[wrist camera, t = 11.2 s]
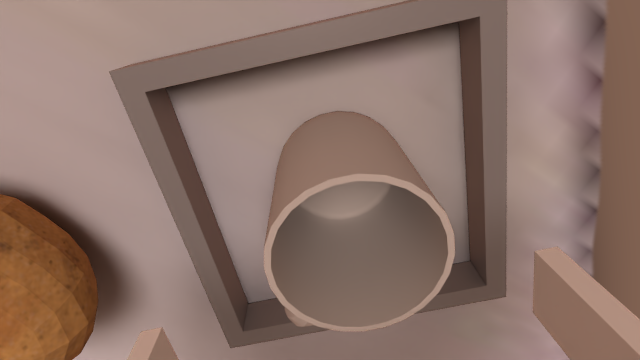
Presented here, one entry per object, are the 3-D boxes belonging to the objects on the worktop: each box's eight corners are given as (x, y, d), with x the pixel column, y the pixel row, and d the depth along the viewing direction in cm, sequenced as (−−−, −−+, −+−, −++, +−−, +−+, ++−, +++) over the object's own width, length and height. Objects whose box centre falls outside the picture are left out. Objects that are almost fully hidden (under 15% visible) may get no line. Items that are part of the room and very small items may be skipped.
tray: (488, 271, 26) (506, 296, 23) (236, 319, 27) (230, 348, 24) (481, -17, 18) (507, -20, 16) (132, 64, 19) (108, 71, 17)
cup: (422, 141, 22) (494, 220, 13) (343, 268, 25) (361, 391, 17) (310, 86, 20) (314, 139, 12) (242, 230, 24) (210, 345, 16)
